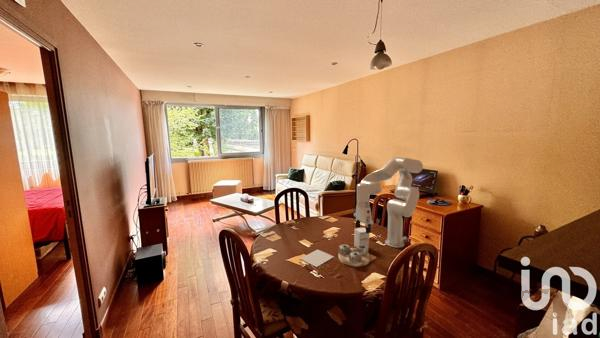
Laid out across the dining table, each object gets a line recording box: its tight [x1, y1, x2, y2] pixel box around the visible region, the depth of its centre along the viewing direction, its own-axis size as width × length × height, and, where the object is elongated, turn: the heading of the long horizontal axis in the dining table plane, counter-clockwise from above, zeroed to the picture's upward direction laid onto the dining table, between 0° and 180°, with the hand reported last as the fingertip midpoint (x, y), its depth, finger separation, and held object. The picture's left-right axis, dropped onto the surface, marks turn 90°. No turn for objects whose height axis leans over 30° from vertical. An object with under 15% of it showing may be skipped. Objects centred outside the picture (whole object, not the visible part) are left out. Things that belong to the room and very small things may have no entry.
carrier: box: [338, 244, 371, 268], centre depth 147 cm, size 19×19×7 cm
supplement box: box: [353, 227, 370, 250], centre depth 161 cm, size 7×7×13 cm
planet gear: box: [355, 245, 369, 256], centre depth 149 cm, size 7×7×4 cm
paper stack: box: [299, 249, 335, 268], centre depth 142 cm, size 23×25×1 cm
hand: (363, 230), depth 148 cm, fingers open, 9 cm apart
